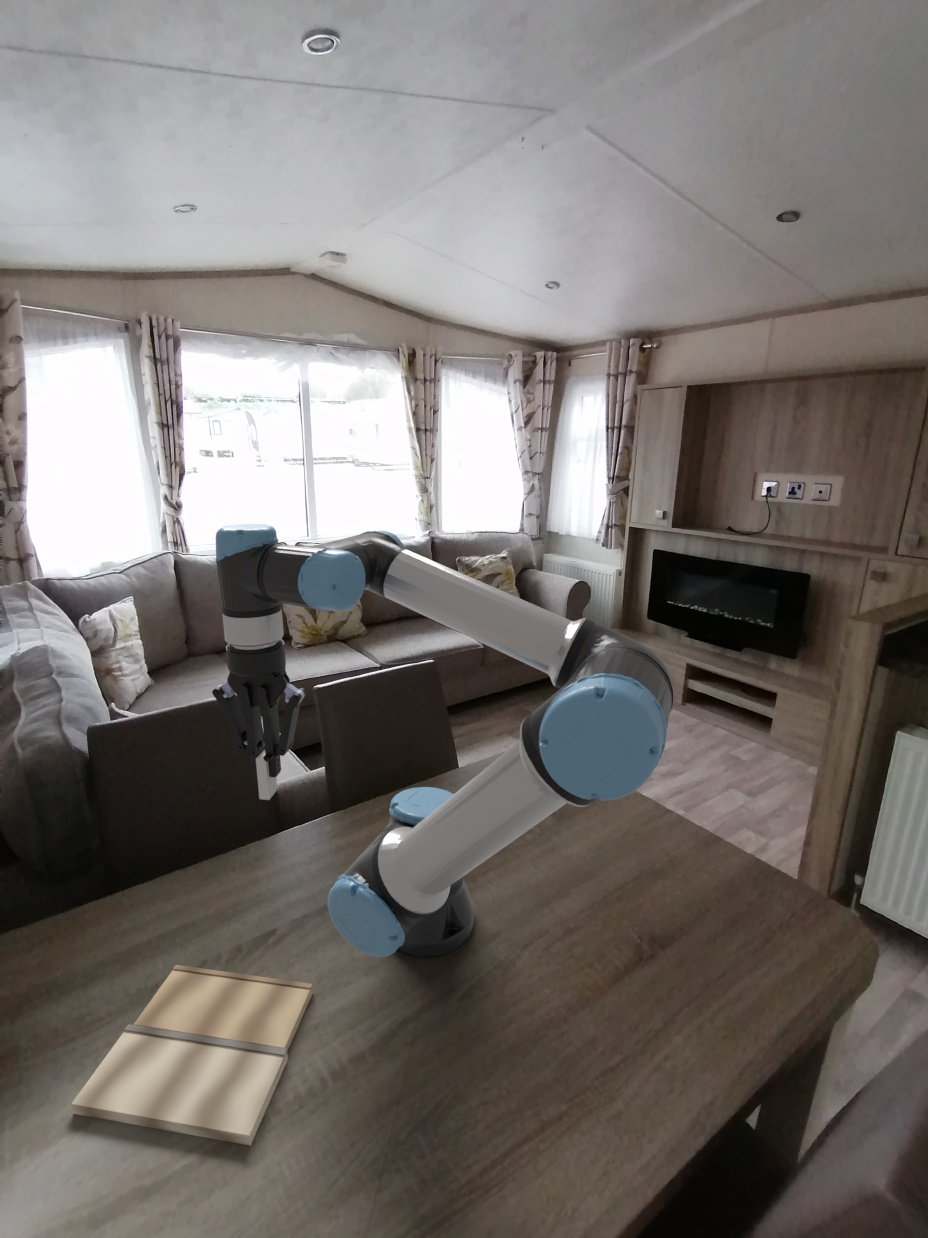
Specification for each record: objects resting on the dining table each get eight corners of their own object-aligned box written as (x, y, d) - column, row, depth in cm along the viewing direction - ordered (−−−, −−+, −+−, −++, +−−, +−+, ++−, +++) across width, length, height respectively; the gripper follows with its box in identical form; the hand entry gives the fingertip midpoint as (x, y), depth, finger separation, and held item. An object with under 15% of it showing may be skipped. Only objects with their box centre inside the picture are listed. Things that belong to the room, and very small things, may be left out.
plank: (313, 992, 87) (312, 983, 87) (285, 1056, 78) (284, 1047, 78) (177, 973, 90) (175, 964, 89) (135, 1033, 81) (133, 1023, 80)
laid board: (287, 1059, 78) (286, 1049, 77) (250, 1146, 68) (249, 1134, 68) (130, 1034, 81) (128, 1024, 80) (73, 1114, 71) (70, 1102, 71)
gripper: (312, 635, 85) (320, 784, 91) (224, 629, 86) (239, 776, 93) (289, 653, 77) (300, 813, 84) (194, 646, 79) (212, 804, 86)
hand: (268, 794), depth 89 cm, fingers closed
